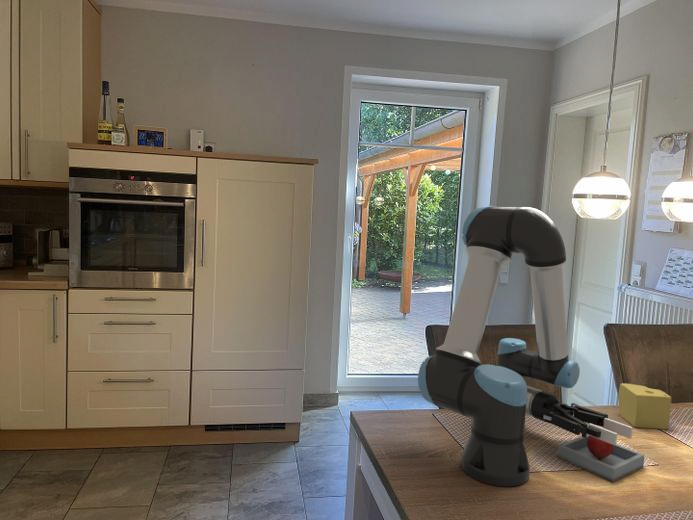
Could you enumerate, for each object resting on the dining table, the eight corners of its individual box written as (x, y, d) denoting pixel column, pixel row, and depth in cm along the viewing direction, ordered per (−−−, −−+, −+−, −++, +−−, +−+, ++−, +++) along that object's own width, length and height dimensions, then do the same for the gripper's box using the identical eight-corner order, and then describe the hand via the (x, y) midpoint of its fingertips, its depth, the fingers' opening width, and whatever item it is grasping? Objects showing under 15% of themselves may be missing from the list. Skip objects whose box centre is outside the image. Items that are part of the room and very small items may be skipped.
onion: (586, 461, 123) (588, 429, 122) (585, 452, 128) (587, 421, 128) (613, 466, 120) (615, 433, 120) (611, 456, 126) (613, 425, 125)
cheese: (651, 416, 156) (654, 385, 155) (670, 431, 146) (674, 397, 145) (616, 414, 157) (619, 382, 156) (633, 428, 146) (636, 394, 146)
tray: (613, 482, 115) (614, 469, 114) (557, 456, 126) (557, 445, 126) (643, 467, 122) (644, 455, 122) (587, 444, 134) (588, 433, 134)
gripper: (557, 411, 144) (642, 442, 125) (514, 424, 133) (600, 461, 114) (559, 385, 143) (645, 413, 125) (516, 396, 132) (603, 429, 114)
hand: (623, 436), depth 119 cm, fingers open, 6 cm apart
